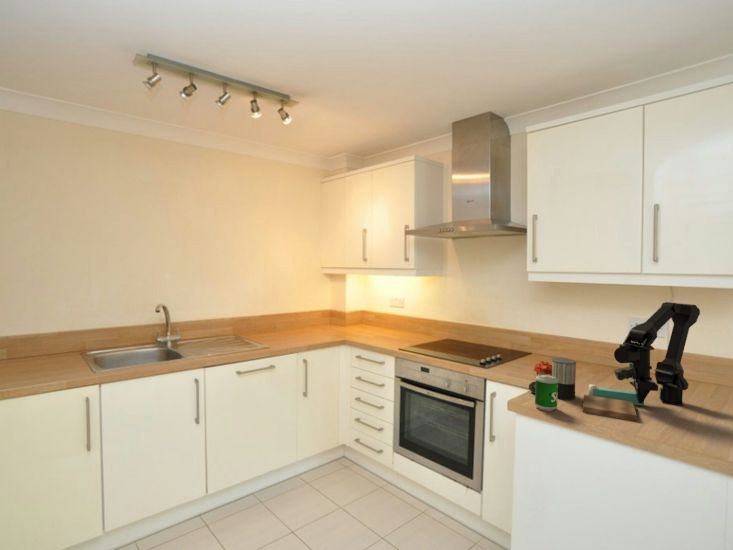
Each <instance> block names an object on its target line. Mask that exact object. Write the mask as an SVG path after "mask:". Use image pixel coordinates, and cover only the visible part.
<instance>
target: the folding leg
mask: <svg viewBox="0 0 733 550" xmlns="http://www.w3.org/2000/svg"><path fill="white" fill-rule="evenodd" d="M588 395H591V396H597V397H604V398H611V399H617V400H624V401H630V402H632V403H633V405H634V406H635V405H636V406H643V407H644V406H645V400H644V401H643V403H642V404H641V403H638V399H637V395H636V391H630V390H621V389H611V388H604V387H597V385H596V384H588Z"/></svg>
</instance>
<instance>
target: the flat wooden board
mask: <svg viewBox="0 0 733 550" xmlns="http://www.w3.org/2000/svg"><path fill="white" fill-rule="evenodd" d="M582 405H583V406H582V413H585V412H588V413H587V414H591V413H593V414H592V415H597V414H598V416H603V415H604V416H605V417H609V416H611V417H610V418H615V417H616V418H615V419H620V418H622V420H626V419H628V420H629V421H632V420H634V422H637V416H638V415H637V413H636V409H635V405H634V404H633V403H632V402H630V401H624V400H617V399H611V398H604V397H597V396H591V395H589V394H583V401H582ZM628 420H627V421H628Z"/></svg>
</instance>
